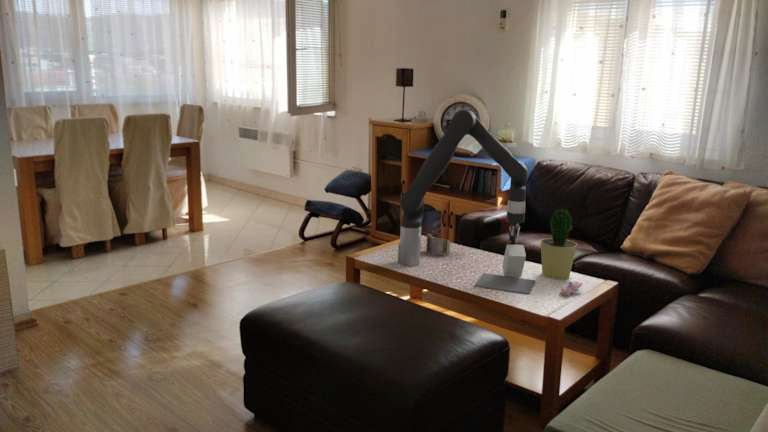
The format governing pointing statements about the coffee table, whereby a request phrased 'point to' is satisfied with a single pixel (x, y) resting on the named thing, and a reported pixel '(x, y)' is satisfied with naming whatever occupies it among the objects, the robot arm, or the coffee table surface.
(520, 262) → the supplement box
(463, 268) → the coffee table surface
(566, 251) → the potted cactus
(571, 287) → the pink unicorn figurine
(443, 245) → the grey upright block
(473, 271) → the coffee table surface
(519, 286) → the mat
